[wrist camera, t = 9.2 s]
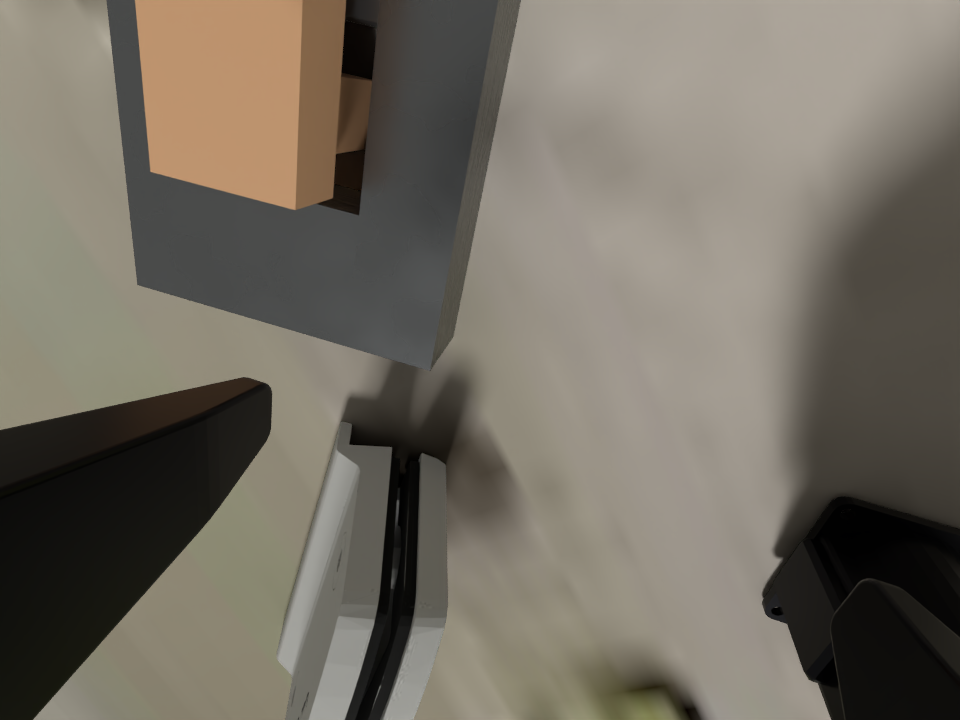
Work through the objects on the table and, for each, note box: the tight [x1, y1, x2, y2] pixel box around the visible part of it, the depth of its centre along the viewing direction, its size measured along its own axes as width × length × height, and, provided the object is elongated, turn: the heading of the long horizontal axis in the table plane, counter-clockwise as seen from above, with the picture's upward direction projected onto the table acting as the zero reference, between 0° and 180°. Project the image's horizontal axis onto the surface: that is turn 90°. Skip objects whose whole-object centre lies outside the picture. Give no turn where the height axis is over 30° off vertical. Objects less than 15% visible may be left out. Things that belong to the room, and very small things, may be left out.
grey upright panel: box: [277, 421, 448, 720], centre depth 23 cm, size 17×5×10 cm, turn 160°
